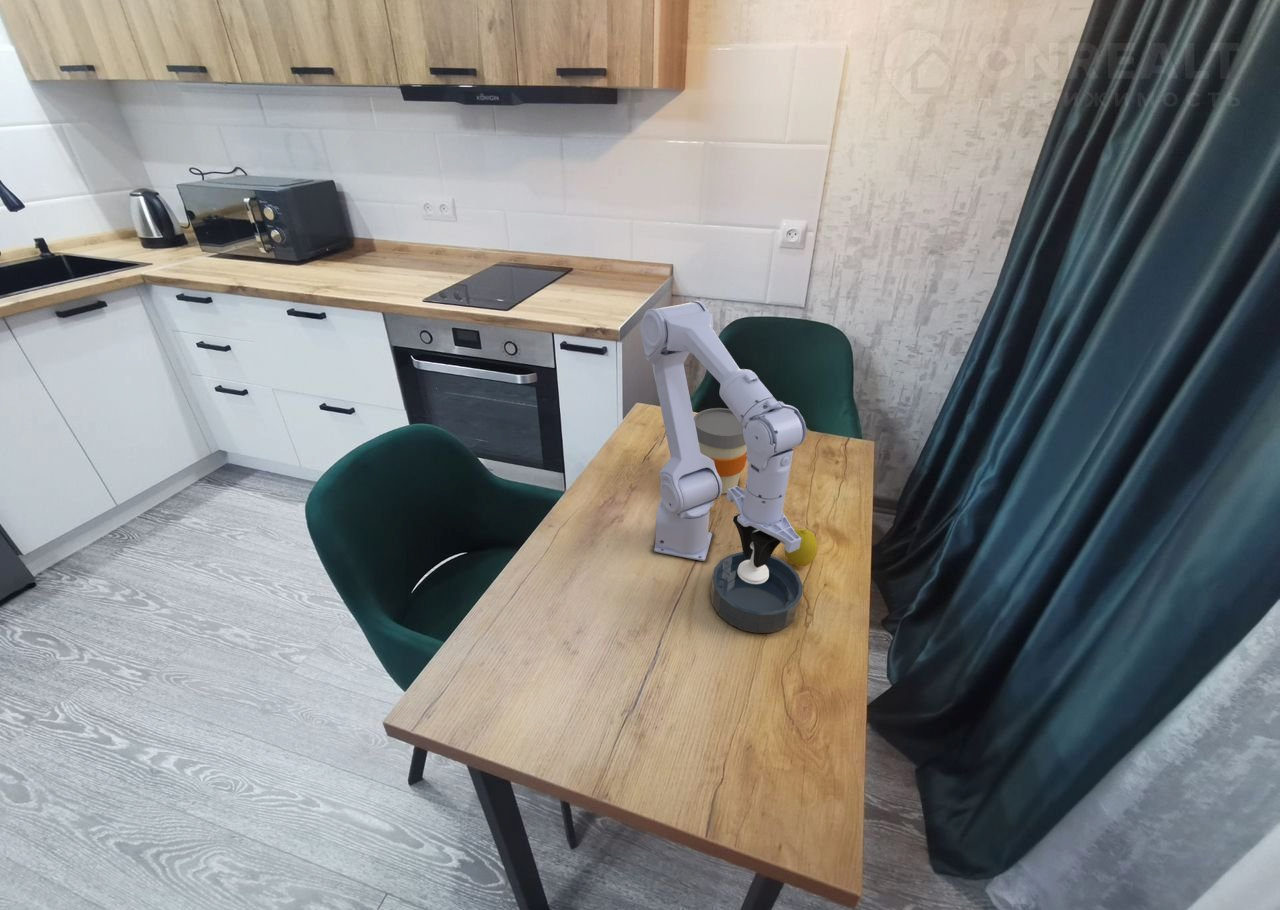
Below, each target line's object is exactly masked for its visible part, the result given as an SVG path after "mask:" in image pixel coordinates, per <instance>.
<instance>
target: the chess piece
mask: <svg viewBox="0 0 1280 910" xmlns="http://www.w3.org/2000/svg"><path fill="white" fill-rule="evenodd" d="M756 531H759V530H754V531H753V532H752V533H754V532H756ZM750 547H751V549H753V553H752V556H751V559H750V560H745V561H743V562H741V563H740V565H739V567H738V570H737V573H738V575H739V577H740V578H741V579H742V580H743V581H745V582H747V583H750V584H761V583H764V582H765V581H767V579H768V578H769V570H768V568H767V566H766V565H763V566H761V567H758V568H756V567H755V566H754V562H753V559H754V544H753V542H752V543H751V544H750Z"/></svg>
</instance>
